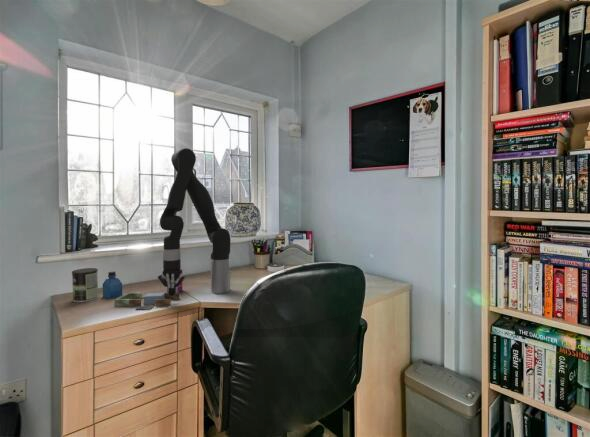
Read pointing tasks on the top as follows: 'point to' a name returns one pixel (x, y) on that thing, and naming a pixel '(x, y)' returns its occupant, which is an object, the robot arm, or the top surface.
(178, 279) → the supplement box
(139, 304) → the channel
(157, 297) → the slate block
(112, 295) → the perfume bottle
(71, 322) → the top surface
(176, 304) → the top surface
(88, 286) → the coffee can
